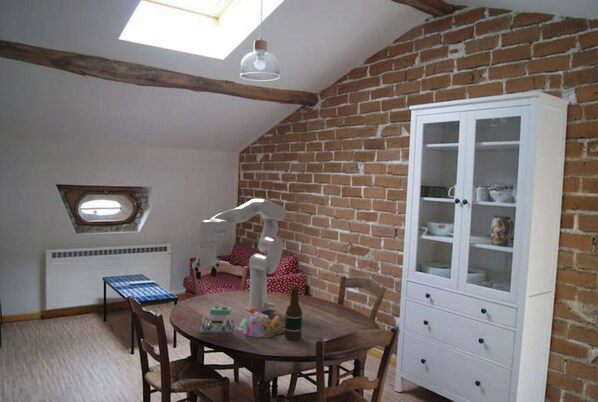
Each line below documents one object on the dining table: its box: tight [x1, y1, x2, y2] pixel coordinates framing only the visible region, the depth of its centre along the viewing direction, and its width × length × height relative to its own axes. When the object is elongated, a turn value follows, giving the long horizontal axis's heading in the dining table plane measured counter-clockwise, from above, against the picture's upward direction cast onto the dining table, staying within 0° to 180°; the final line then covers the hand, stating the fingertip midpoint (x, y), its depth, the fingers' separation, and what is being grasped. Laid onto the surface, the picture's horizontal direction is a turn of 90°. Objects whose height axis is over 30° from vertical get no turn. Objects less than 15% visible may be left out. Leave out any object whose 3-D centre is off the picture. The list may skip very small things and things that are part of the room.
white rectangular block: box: [212, 314, 230, 322], centre depth 233 cm, size 8×4×4 cm, turn 92°
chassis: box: [198, 313, 234, 335], centre depth 218 cm, size 15×12×6 cm
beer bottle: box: [284, 286, 303, 342], centre depth 210 cm, size 8×8×24 cm
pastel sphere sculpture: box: [236, 307, 285, 338], centre depth 221 cm, size 25×24×9 cm
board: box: [209, 306, 232, 316], centre depth 233 cm, size 10×6×3 cm, turn 92°
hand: (206, 277), depth 228 cm, fingers open, 9 cm apart
